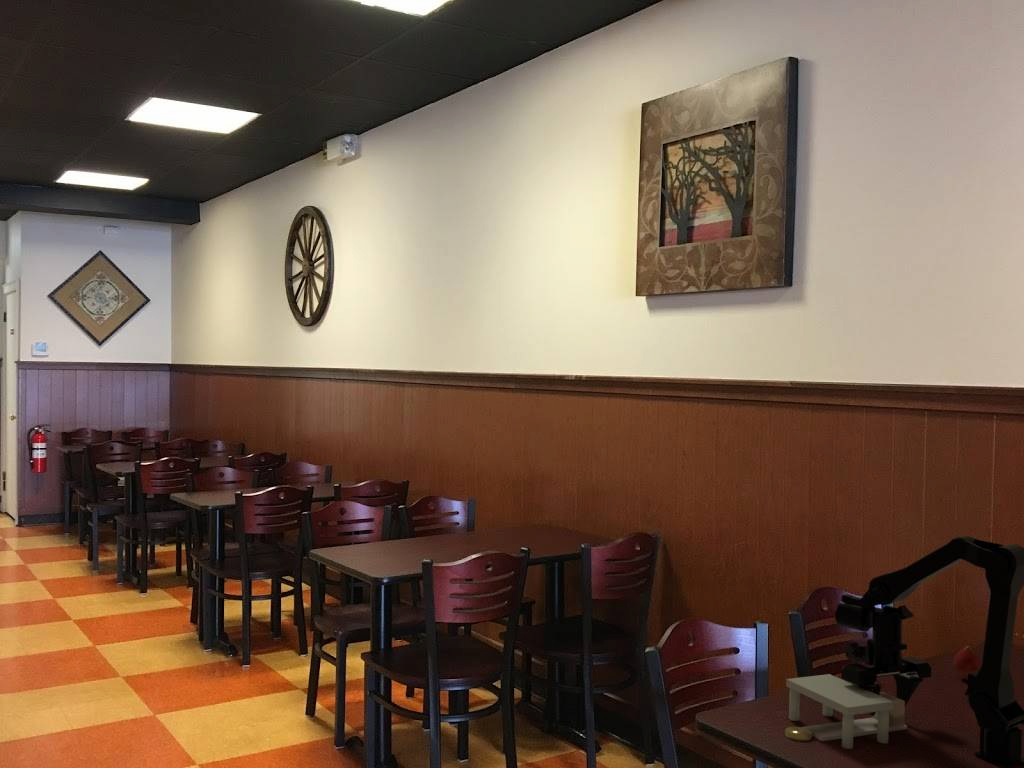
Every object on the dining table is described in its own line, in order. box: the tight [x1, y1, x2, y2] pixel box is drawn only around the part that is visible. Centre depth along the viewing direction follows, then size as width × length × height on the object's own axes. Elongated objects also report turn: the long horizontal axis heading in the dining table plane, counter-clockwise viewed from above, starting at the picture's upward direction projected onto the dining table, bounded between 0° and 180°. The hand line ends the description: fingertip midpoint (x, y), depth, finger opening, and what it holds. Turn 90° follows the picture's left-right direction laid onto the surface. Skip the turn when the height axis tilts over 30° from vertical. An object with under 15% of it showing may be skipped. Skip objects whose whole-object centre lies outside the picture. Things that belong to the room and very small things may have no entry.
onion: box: [952, 645, 982, 681], centre depth 229 cm, size 6×6×8 cm
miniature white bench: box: [785, 673, 893, 750], centre depth 193 cm, size 18×11×8 cm, turn 22°
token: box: [784, 726, 813, 742], centre depth 190 cm, size 5×5×1 cm
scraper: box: [801, 691, 908, 742], centre depth 194 cm, size 6×21×6 cm, turn 112°
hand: (885, 713), depth 198 cm, fingers open, 7 cm apart
